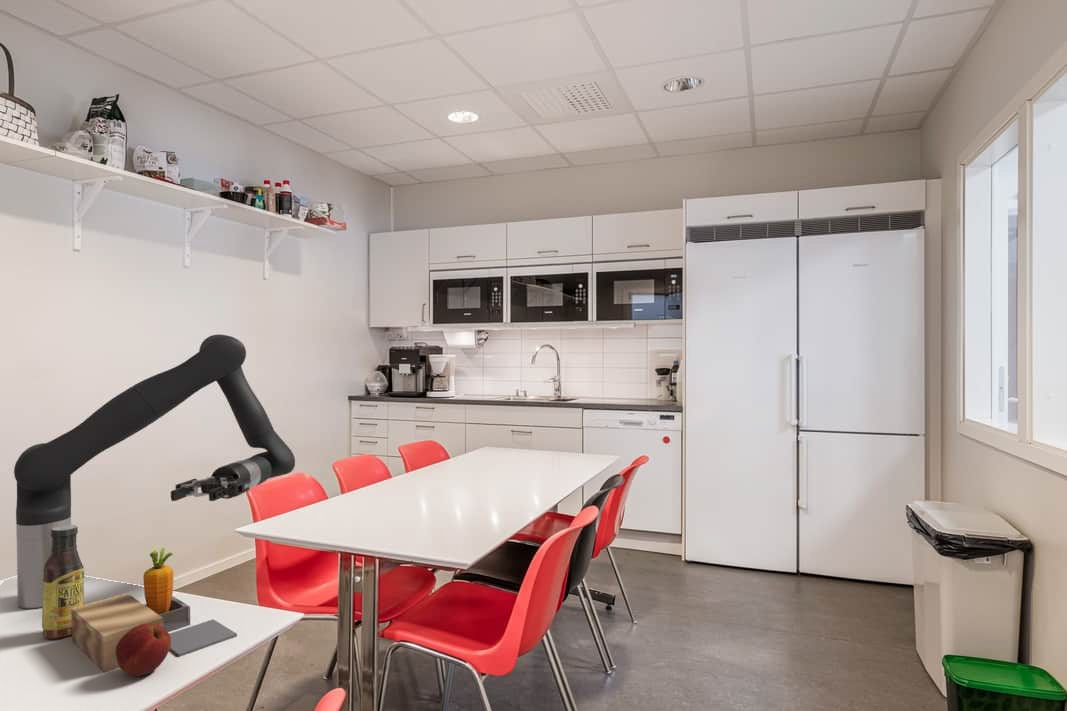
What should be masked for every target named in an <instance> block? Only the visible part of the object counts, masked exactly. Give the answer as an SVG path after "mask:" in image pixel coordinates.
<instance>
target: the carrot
mask: <svg viewBox="0 0 1067 711" xmlns="http://www.w3.org/2000/svg"><path fill="white" fill-rule="evenodd" d="M165 552H166V547H162V548H161V550H160V553H159V551H158V550H153V551H152V552H150V553H149V557H150V558H151V559H152V563H153V566H152V567H150V568H148V569H147V570H145V571H144V573H143V576H142V577H143V593H144V600H145V603H146V604H147V607H148V608H150V609H151V610H152V611H154V612H155V613H157V614H158V615H159V614H162V613H165V612H168V611H169V609H170V604H171V599H172V597H173V594H174V570H173V568H172V567H170V566H169V565H166V564H165V563H166V561H167V560H168V558H170V557H171V556H172V555H174V554H173V552H172V551H170V552H168V553H166V554H165ZM158 558H159V559H158Z"/></svg>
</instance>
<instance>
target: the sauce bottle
mask: <svg viewBox="0 0 1067 711" xmlns="http://www.w3.org/2000/svg"><path fill="white" fill-rule="evenodd" d="M78 532H79V530H78V526H77V525H75V524H71V525H67V526H60V527H55V528H52V529H51V537H52V550H51V551H52V554H51V556H50V557H49V559H48V560H47V562H46V564H45V566H44V579H43V604H42V607H41V608H42V610H41V611H42V613H41V628H42V636H43V638H44V639H48V640H55V639H62V638H66V637H71V636H72V621H71V608H73V607H77V606H81V605H85V604H84V602H85V601H84V600H85V598H84V597H85V595H84V594H85V568H84V565H83V563H82V561H81V558H80V555H79V552H78V549H77V548H78V545H77V534H78Z"/></svg>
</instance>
